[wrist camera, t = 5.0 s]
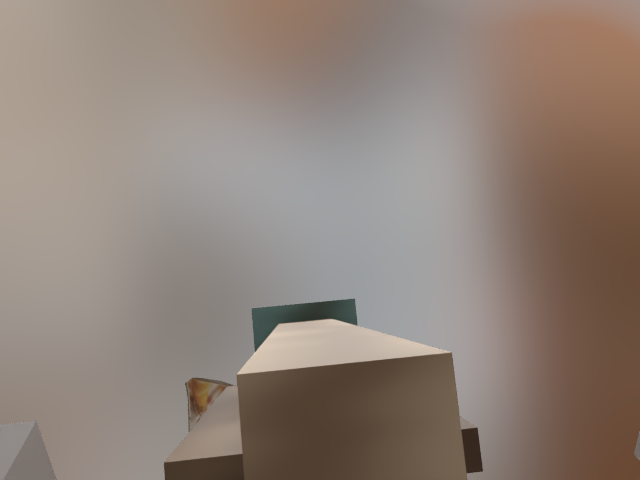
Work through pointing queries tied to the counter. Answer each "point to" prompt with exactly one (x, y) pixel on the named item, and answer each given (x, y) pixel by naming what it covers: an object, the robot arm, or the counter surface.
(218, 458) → the walnut pedestal
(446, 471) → the oak beam
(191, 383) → the pancake mix bag
